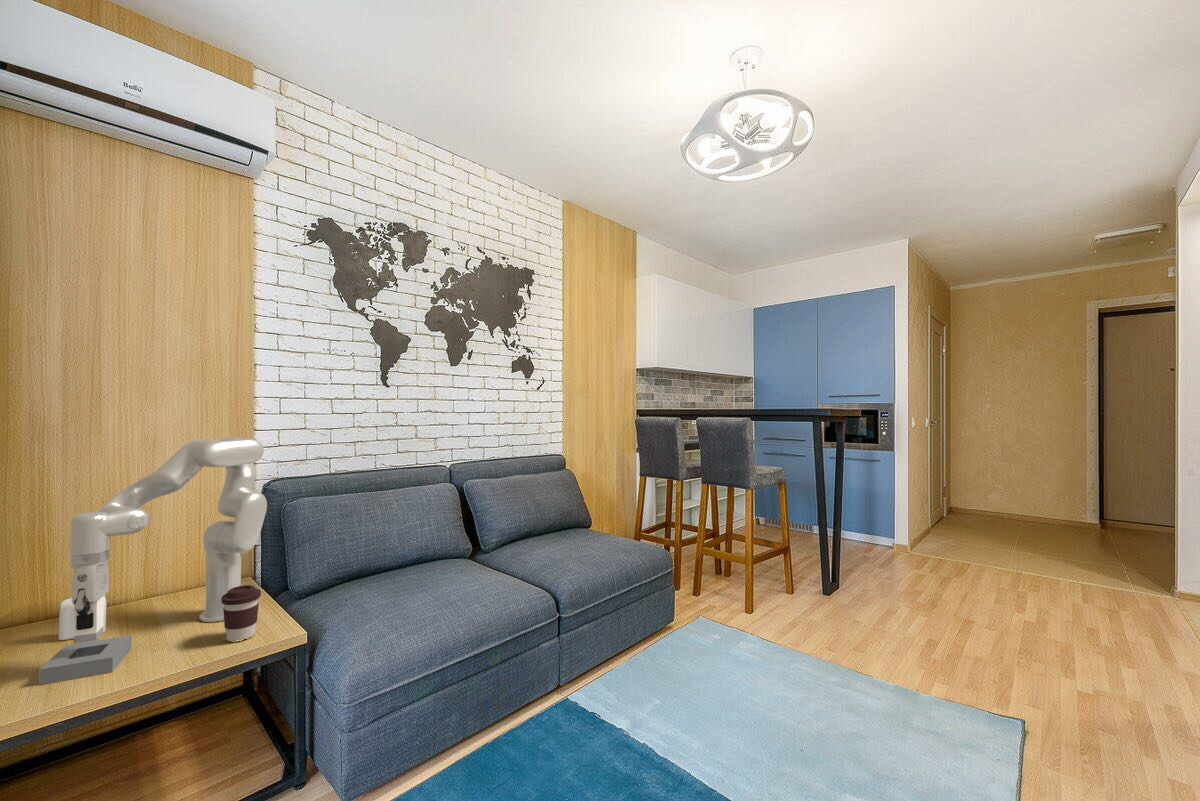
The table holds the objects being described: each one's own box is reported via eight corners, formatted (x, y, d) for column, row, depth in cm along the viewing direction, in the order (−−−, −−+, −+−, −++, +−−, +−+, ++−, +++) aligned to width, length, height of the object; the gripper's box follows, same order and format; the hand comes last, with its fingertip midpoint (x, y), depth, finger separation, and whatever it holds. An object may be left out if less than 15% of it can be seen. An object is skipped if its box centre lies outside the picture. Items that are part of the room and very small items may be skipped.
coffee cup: (254, 627, 162) (254, 580, 162) (264, 636, 156) (265, 588, 156) (216, 638, 154) (217, 589, 154) (226, 648, 148) (227, 597, 148)
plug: (103, 633, 141) (103, 590, 141) (96, 640, 137) (97, 596, 137) (81, 636, 139) (81, 593, 139) (73, 643, 135) (74, 598, 135)
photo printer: (107, 629, 159) (108, 589, 159) (103, 634, 156) (104, 594, 156) (61, 637, 154) (61, 596, 154) (56, 642, 150) (57, 601, 150)
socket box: (131, 648, 147) (131, 635, 147) (112, 672, 135) (112, 657, 135) (65, 659, 141) (65, 645, 141) (39, 685, 128) (39, 669, 128)
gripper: (95, 565, 132) (94, 635, 132) (120, 548, 147) (119, 610, 147) (55, 569, 128) (54, 641, 128) (85, 551, 143) (84, 615, 143)
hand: (89, 624), depth 138 cm, fingers closed on plug, 4 cm apart
